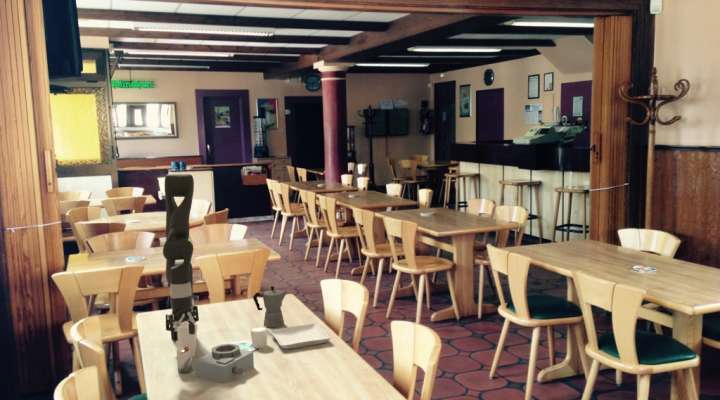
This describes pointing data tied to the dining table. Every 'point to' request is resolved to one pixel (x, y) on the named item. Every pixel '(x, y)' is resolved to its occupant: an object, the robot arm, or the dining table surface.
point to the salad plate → (300, 336)
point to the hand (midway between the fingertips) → (183, 337)
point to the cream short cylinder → (259, 337)
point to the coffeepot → (271, 307)
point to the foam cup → (186, 337)
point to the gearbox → (224, 363)
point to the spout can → (184, 360)
